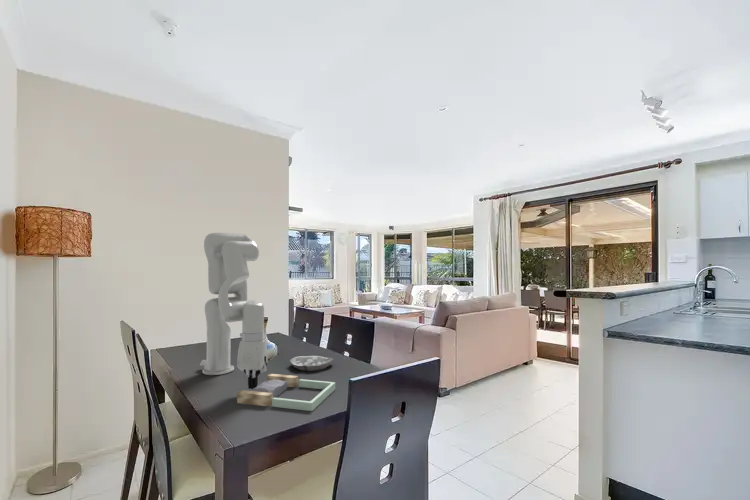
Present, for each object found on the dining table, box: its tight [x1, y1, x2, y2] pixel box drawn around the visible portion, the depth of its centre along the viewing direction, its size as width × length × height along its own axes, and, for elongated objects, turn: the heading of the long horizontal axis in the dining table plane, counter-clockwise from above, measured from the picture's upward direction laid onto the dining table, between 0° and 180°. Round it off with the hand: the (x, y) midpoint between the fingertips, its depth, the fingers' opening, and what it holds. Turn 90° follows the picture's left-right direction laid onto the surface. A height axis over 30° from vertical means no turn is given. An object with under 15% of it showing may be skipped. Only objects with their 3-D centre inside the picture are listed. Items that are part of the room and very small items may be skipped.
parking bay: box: [271, 378, 336, 412], centre depth 126 cm, size 14×20×2 cm
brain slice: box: [289, 355, 335, 372], centre depth 162 cm, size 20×17×3 cm
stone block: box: [250, 380, 288, 398], centre depth 130 cm, size 12×5×10 cm
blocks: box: [236, 373, 300, 407], centre depth 129 cm, size 12×21×4 cm, turn 165°
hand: (252, 387), depth 131 cm, fingers closed
